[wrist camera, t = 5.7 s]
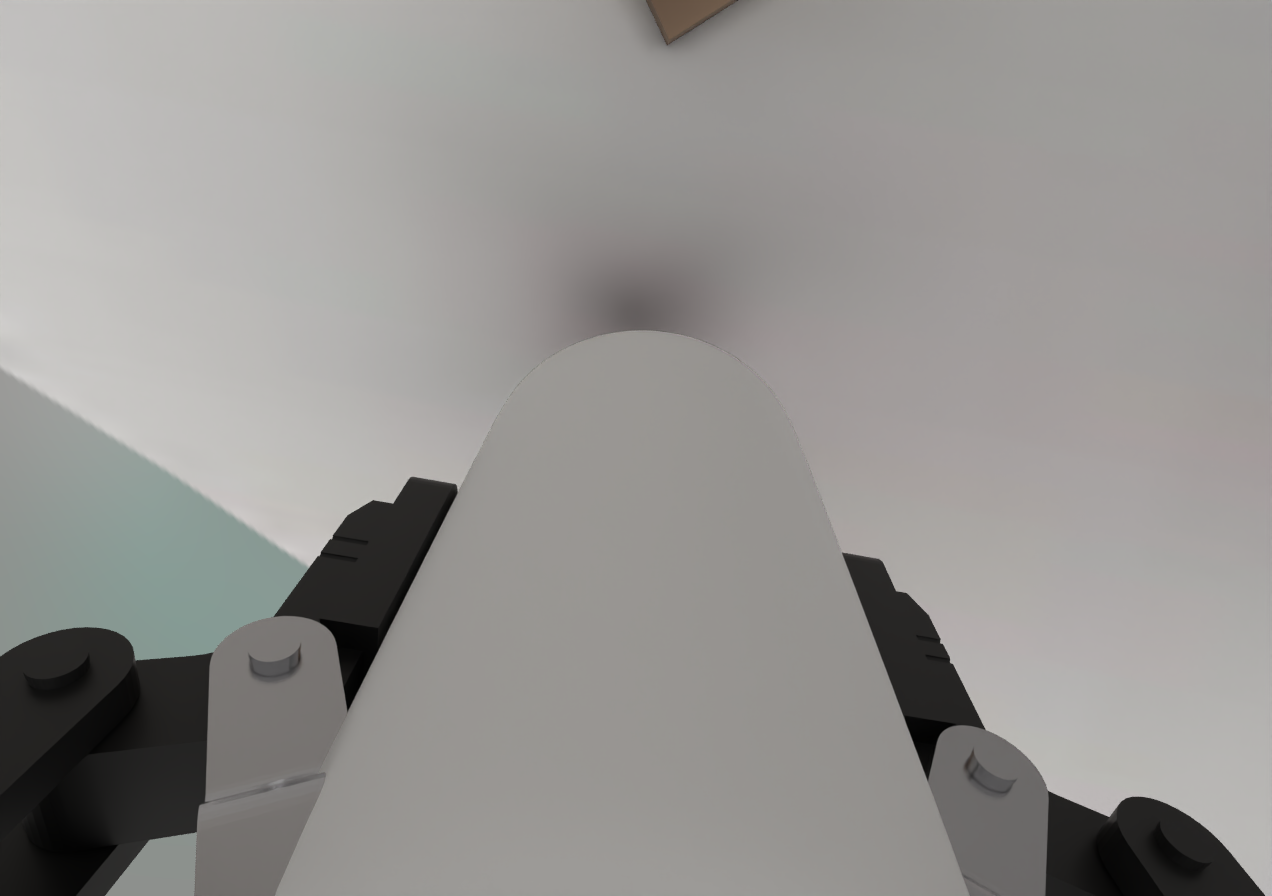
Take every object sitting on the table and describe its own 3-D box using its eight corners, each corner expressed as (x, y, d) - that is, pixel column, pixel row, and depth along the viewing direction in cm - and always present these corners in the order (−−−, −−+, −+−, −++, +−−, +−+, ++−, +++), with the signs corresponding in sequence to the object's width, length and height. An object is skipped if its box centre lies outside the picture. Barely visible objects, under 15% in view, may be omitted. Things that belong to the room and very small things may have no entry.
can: (433, 395, 14) (-218, 1279, 4) (732, 268, 13) (1042, 1097, 2) (574, 623, 17) (426, 1526, 6) (836, 537, 16) (1205, 1508, 5)
